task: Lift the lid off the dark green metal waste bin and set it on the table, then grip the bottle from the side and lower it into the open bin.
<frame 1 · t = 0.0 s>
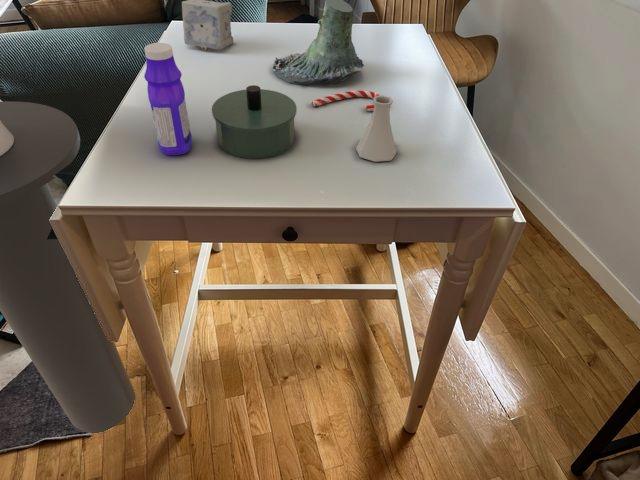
bin: (256, 138, 88), on the table
bin lid: (254, 110, 84), point 5 cm above the table, touching bin
bottle: (176, 147, 85), on the table
incense holder: (210, 46, 120), on the table
flask: (375, 152, 86), on the table
candy cane: (348, 105, 99), on the table
tree stump: (318, 71, 111), on the table
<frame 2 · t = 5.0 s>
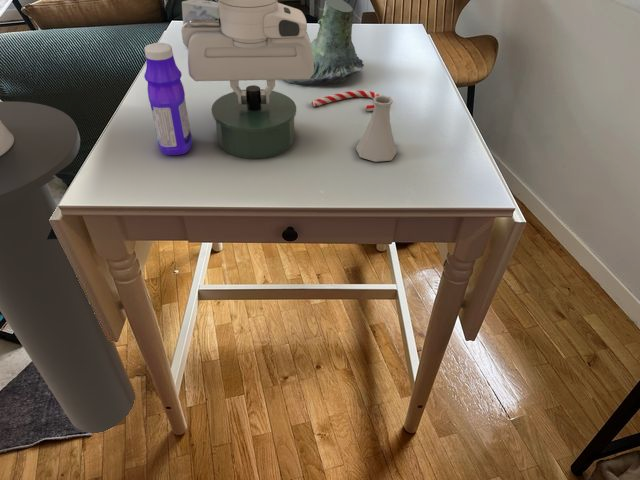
hand: (254, 102, 83), 7 cm above the table, tool pointing down, fingers closed on bin lid, 2 cm apart
bin lid: (254, 110, 84), point 5 cm above the table, touching bin, gripper
everything else where it was.
when the fingers open (2 cm above the table, at t = 11.8 s): bin lid stays where it is, point 1 cm above the table.
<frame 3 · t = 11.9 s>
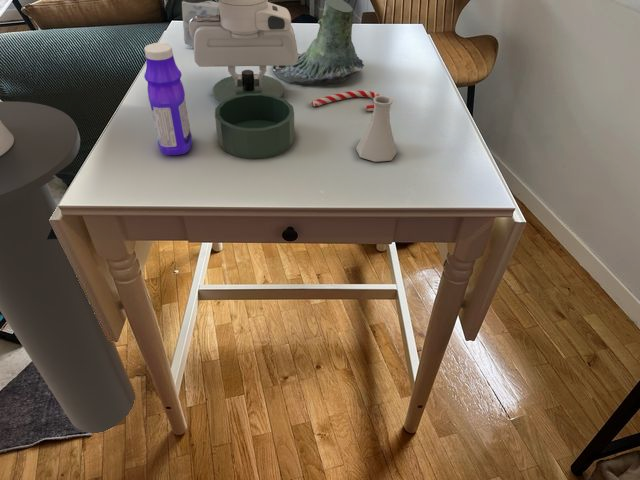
hand: (248, 85, 100), 2 cm above the table, tool pointing down
bin lid: (248, 91, 101), point 1 cm above the table
everything else where it was.
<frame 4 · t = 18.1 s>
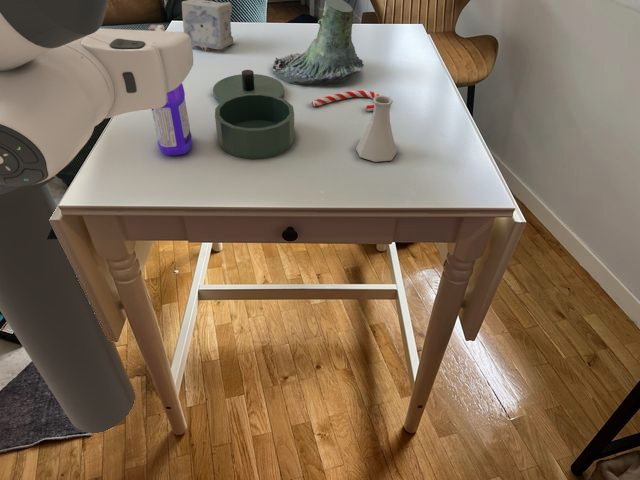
hand: (121, 29, 60), 24 cm above the table, tool horizontal, fingers open, 8 cm apart
nothing on the table moved.
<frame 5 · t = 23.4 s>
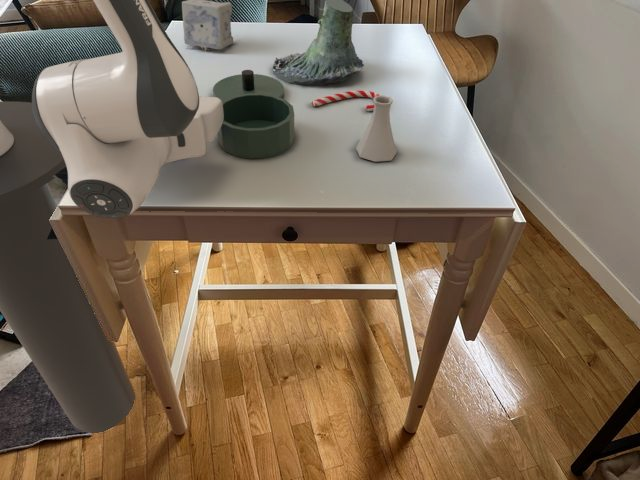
hand: (167, 90, 79), 10 cm above the table, tool horizontal, fingers closed on bottle, 6 cm apart
bottle: (176, 147, 85), on the table, touching gripper
everything else where it was.
when the fingers open (10 cm above the table, at t = 32.4 s): bottle stays where it is, resting on bin.
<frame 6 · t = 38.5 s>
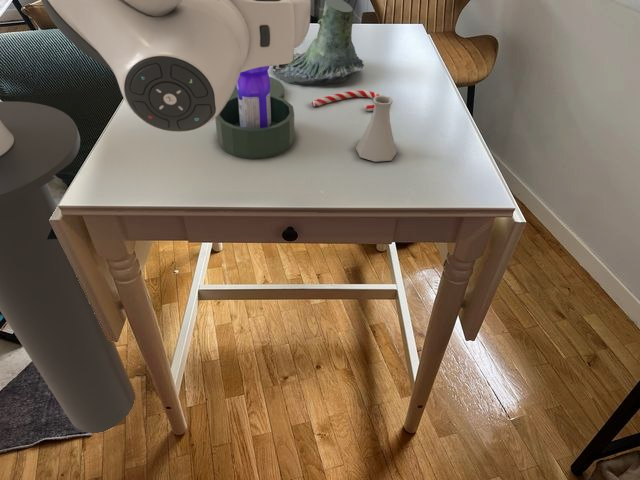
bottle: (256, 137, 88), resting on bin
everything else where it was.
at the end: bin lid point 0.6 cm above the table; bin lid inside the target area (0.0 cm from its centre), point 0.6 cm above the table; bottle inside the target area in the bin (0.1 cm from its centre), point 0.3 cm above the bin's base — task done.
